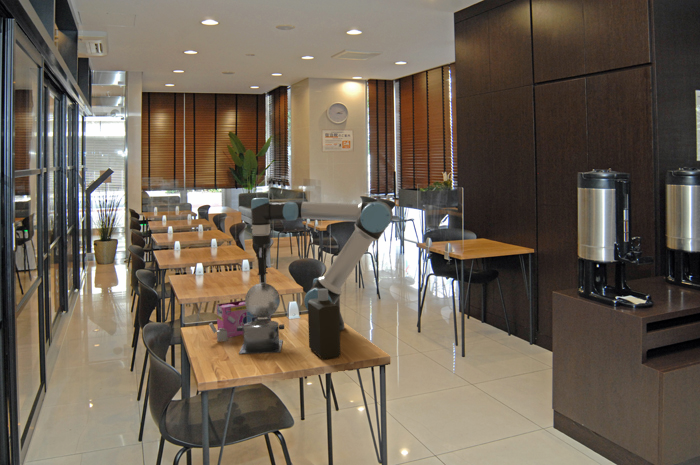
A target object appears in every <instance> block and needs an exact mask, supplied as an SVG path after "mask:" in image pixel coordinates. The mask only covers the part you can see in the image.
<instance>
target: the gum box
mask: <svg viewBox="0 0 700 465" xmlns="http://www.w3.org/2000/svg"><path fill="white" fill-rule="evenodd" d="M267 318H269V320H270V321H272V315H271V316H269V317H267ZM257 319H258V317H255V316H253V315H252V314H251V313H250V312H249V311H248V310H247V308H246V305H245V299H244V300H238V301H231V302H223V303H218V304H217V303H216V322H217V331H218V330H220V329H219V328H225V330H227V338H233V337H238V336H244V335H243V330H242V331H237V327H238V326H243V325H244V324H246V323H248V322H252V321H257Z"/></svg>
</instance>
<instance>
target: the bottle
mask: <svg viewBox="0 0 700 465" xmlns="http://www.w3.org/2000/svg"><path fill="white" fill-rule="evenodd" d="M307 319H308V325H307V326H308V348H309V349H310V350H312V352H314V353H315V354H316V355H317V356H319V357H320V358H321V360H323V361H324V360H331V359H332V360H333V359H339V358H340V356H341V331H340V315H339V307H338V306H337V305H336V304H334V303H332V302H331V301H329V300H328V289H324V288H322V289H318V299H310V300H309V301H308V310H307Z"/></svg>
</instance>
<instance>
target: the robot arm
mask: <svg viewBox="0 0 700 465" xmlns="http://www.w3.org/2000/svg"><path fill="white" fill-rule="evenodd" d="M250 202H251V203H250V204H251V206H250V207H251V208H250V211H251V212H250V213H251V227H250V230H251V234H252V236H251V238H252V245H256V246H257V248H256V255H257V269H258V273H257V276H259V278H258V279H259V284H260V283H266V284H267V275H268V271H267V256H268V255H267V252H268V248H267V247H266V245H269V244H271V235H270V234H271V223H270V221H287V222H289V221H296V220H297V219H304V220H305V219H306V220H322V221H323V220H324V221H338V222H339V221H341V222H355V223H354V231H353V232H352V234H351V236H350V237H349V238H348V240H347V241H346V242H345V244H344V246H343V247H342V248H341V250H340V252H339V253H338V255H336V258H334V261H333V262H332V263H331V265H330V266H329V267H328V270H327V271H326V272H325V274H324V275H323V276H318V277H316V278H313V280H312V286H311V288H310V290H308V291H307V292H306V293H305V296H304V299H303V300H304V302H303V303H304V307H305V308H306V310H307V311H308V301H309V300H310V299H318V289H322V288H324V289H328V300H329V301H331V302H332V303H334V304H336V305H337V306H338V307H339V315H340V332H342V331H344V329H345V322H344V321H345V320H344V319H343V317H342V314H341V313H342V312H341V299H340V298H341V295H342V293H343V291H342V287H343V286H344V284H345V283H346V281H347V279H348V278H349V277H350V275H351V274H352V272H353V271H354V269H355V268H356V267H357V265H358V263H359V262H360V261H361V259H362V257H363V256H364V255H365V253H366V252H367V250H368V249H369V247H370V246H371V245H372V243H373V242H376V241H378V240H379V239H380V238H381V236H382V235H383V233H384V232H385V230H386V229H387V227H388V226H390V224H391V222H392V220H393V210H392V209H393V208H392V207H391V206H390V205H389V204H388V203H386V202H384V201H381V200H376V201H367V202H366V201H365V202H364V201H362V202H360V203H358V204H357V203H344V202H343V203H338V202H317V201H300V200H299V201H298V200H288V201H281V202H270V198H268V197H255V198H252V199H251V201H250Z"/></svg>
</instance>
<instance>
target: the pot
mask: <svg viewBox="0 0 700 465" xmlns="http://www.w3.org/2000/svg"><path fill="white" fill-rule="evenodd" d="M242 330H243V335H242V336H243V343H242V345H241V347H240V350H239V353H238V354H239V355H253V354H254V355H256V354H277V353H279V354H280V353H281V352H282V347H283V346H282V345H283V342H284V339H280V335H279V334H280V332H279V330H285V324H279V322H278V321H274V320H271V321H270V320H269V318H267V319H257V321H252V322H248V323H246V324H244V325H243V326H238V327H237V331H242Z"/></svg>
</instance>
